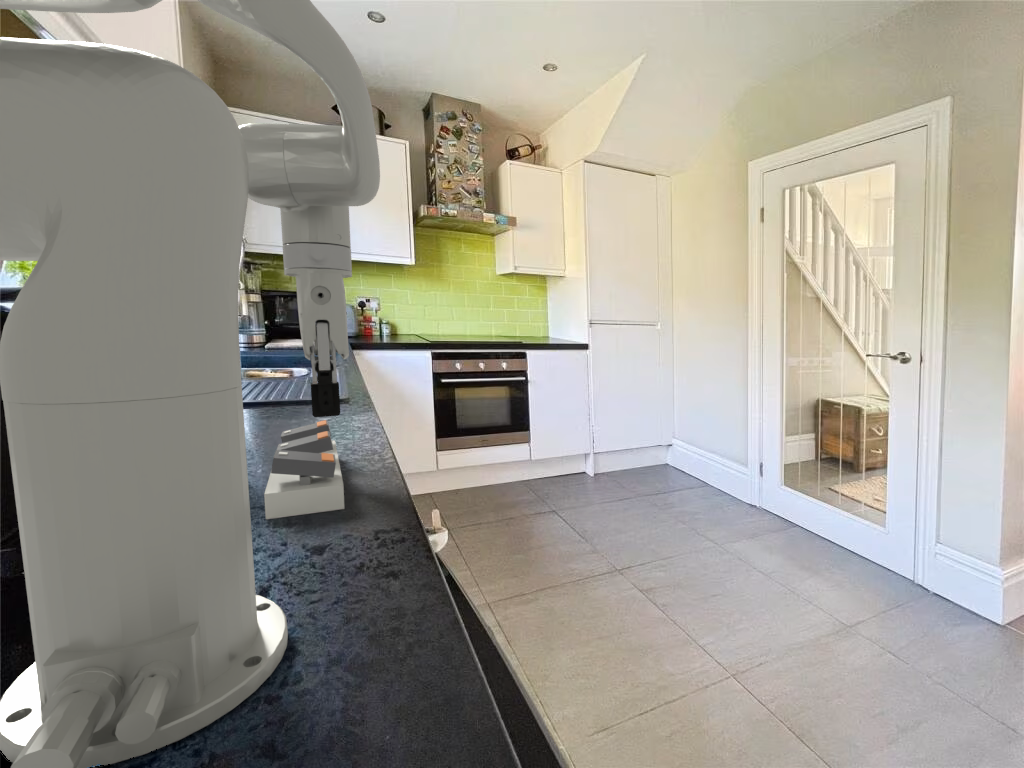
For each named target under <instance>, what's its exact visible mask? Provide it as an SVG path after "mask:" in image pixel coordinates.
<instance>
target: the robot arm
mask: <svg viewBox="0 0 1024 768" xmlns="http://www.w3.org/2000/svg"><path fill="white" fill-rule="evenodd" d="M162 1H163V0H0V9H1V10H16V11H32V12H34V11H35V12H37V11H38V12H49V13H50V12H52V13H53V12H55V13H75V14H76V13H77V14H116V13H117V14H118V13H134V12H139V11H144V10H146V9H147V10H148V9H150V8H151V9H152V7H154V6H156V5H157V4H159V3H161V2H162ZM197 1H198V2H199V3H200V4H202V5H204V6H206V7H207V8H209V9H210V10H212V11H214V12H216V13H218V14H220V15H222V16H224V17H226V18H228V19H230V20H232V21H235V22H236V23H238V24H241V25H243V26H245V27H247V28H249V29H251V30H252V31H255V32H257V33H259V34H260V35H263V36H264V37H266V38H268V39H270V40H271V41H272V42H274V43H276V44H278V45H280V46H281V47H283V48H284V49H286V50H288V51H289V52H290V53H292V54H293V55H295V56H296V57H297V58H298V59H300V60H301V61H302V62H303V63H305V64H306V65H307V66H308V67H309V68H310V69H311V70H312V71H313V73H315V74H316V75H317V76H318V77H319V78H320V79H321V81H322V82H323V83H324V85H326V87H327V89H328V91H329V92H330V93H331V95H332V97H333V99H334V101H335V104H336V105H337V109H338V111H339V115H340V119H341V123H342V125H332V124H331V125H330V124H329V125H328V124H326V125H325V124H310V123H309V124H308V123H306V124H303V123H302V124H301V123H288V124H287V123H265V122H260V123H259V122H255V123H253V122H251V123H245V124H241V125H238V123H237V120H236V119H235V117H234V115H233V114H232V112H231V110H230V108H229V107H228V105H227V104H226V103H225V102H224V100H223V99H222V98H221V97H220V96H219V95H218V93H217V92H216V91H215V90H214V89H213V88H212V87H210V85H208V84H207V83H206V82H205V81H204V80H202V79H201V78H200V77H199V76H197V75H195V74H194V73H193V72H191V71H190V70H188V69H186V68H185V67H183V66H180V65H178V64H177V63H175V62H173V61H170V60H168V59H166V58H163V57H160V56H157V55H154V54H152V53H148V52H146V51H141V50H137V49H133V48H127V47H123V46H119V45H113V44H106V43H104V44H103V43H96V42H89V41H87V42H86V41H71V40H69V41H68V40H55V39H54V40H53V39H37V38H36V39H35V38H20V37H19V38H18V37H6V36H1V37H0V262H2V261H11V262H12V261H13V262H15V261H16V262H17V261H18V262H28V261H29V262H36V264H35V266H34V267H33V269H32V271H31V272H30V274H29V276H28V277H27V279H26V281H25V282H24V284H23V286H22V287H21V289H20V290H19V292H18V295H17V297H16V299H15V300H14V302H13V304H12V305H11V308H10V310H9V313H8V315H7V317H6V320H5V322H4V325H3V329H2V333H1V336H0V337H1V338H0V391H1V401H3V402H2V403H3V410H4V417H5V425H6V426H5V428H6V435H7V436H6V437H7V443H8V451H9V457H10V467H11V474H12V475H11V476H12V484H13V490H14V491H13V492H14V500H15V507H16V515H17V522H18V523H17V524H18V530H19V532H18V534H19V539H20V547H21V549H20V550H21V556H22V563H23V564H22V565H23V570H24V571H23V572H24V578H25V579H24V581H25V589H26V596H27V604H28V613H29V622H30V630H31V636H32V637H31V638H32V645H33V652H34V660H35V661H34V662H33V664H31V665H30V666H29V667H28V668H26V669H25V670H24V671H23V672H22V673H21V674H20V675H19V676H17V678H16V679H15V680H14V681H13V682H12V683H11V684H10V686H9V687H8V688H7V689H6V691H5V692H4V693H3V694H2V696H1V698H0V750H1V751H2V753H3V754H4V755H5V756H6V758H7V759H8V760H10V761H9V762H11V766H10V768H87V767H91V766H92V765H93V766H96V765H97V764H101V765H104V766H109V765H108V764H110V765H114V764H117V763H120V762H124V761H127V760H130V758H131V759H133V757H134V758H137V757H140V756H143V755H147V754H149V753H151V751H152V752H154V751H156V749H157V750H160V749H161V748H163V747H166V745H167V746H169V745H171V744H173V743H177V742H179V741H181V740H183V739H184V738H186V737H188V736H190V735H192V734H194V733H196V732H198V731H200V730H201V729H204V728H205V727H207V726H210V725H211V724H213V723H214V722H216V721H217V720H219V719H220V718H221V717H223V716H224V715H226V714H228V713H229V712H231V711H233V710H234V709H235V708H237V706H239V705H241V703H242V702H244V701H245V700H246V699H248V698H249V697H250V696H251V695H253V694H254V693H255V692H256V691H257V690H258V689H259V688H260V687H261V685H263V684H264V682H266V681H267V679H268V678H269V677H271V675H272V674H273V673H274V671H275V670H276V668H277V667H278V665H280V662H281V661H282V659H283V657H284V655H285V652H286V649H287V646H288V636H289V632H288V622H287V615H286V614H285V612H284V611H283V609H282V607H280V606H279V605H278V604H277V603H276V602H274V601H273V600H270V599H268V598H266V597H265V596H262V595H257V593H256V577H255V566H254V552H253V551H254V549H253V537H252V535H253V534H252V521H251V519H252V518H251V506H250V489H249V476H248V474H249V473H248V463H247V462H248V461H247V460H248V459H247V446H246V443H247V442H246V431H245V429H246V428H245V415H244V399H243V387H242V386H243V385H242V369H241V368H242V367H241V365H242V364H241V350H240V330H239V329H240V328H239V326H240V325H239V282H240V279H239V278H240V264H241V256H242V247H243V237H244V232H245V231H244V230H245V223H246V217H247V209H248V200H251V201H253V202H255V203H257V204H261V205H262V206H264V205H265V206H270V207H275V208H280V209H279V210H280V225H281V239H282V242H281V243H282V257H283V258H282V259H283V260H282V261H283V271H284V272H283V273H284V274H283V275H284V276H288V277H293V278H294V277H295V283H296V300H297V312H298V323H299V330H300V338H301V343H302V348H303V354H304V357H305V359H307V360H308V361H310V363H311V374H312V375H311V376H312V382H310V393H311V412H312V413H311V414H312V417H314V418H324V417H325V418H326V417H336V416H340V415H341V401H340V382H339V381H338V377H337V376H338V375H337V355H336V354H338V355H340V356H341V358H342V359H343V360H347V359H348V358H349V357H350V349H349V336H348V335H349V333H348V317H347V315H348V314H347V302H346V301H347V299H346V292H345V291H346V290H345V289H346V288H345V284H344V283H345V282H344V279H346V278H352V277H353V272H352V271H353V267H352V249H351V248H352V247H351V228H350V227H351V225H350V221H351V220H350V207H359V206H360V207H361V206H364V205H367V204H369V203H371V202H372V201H373V200H374V199H375V197H376V196H377V193H378V191H379V188H380V182H381V171H380V170H381V169H380V167H381V165H380V156H379V155H380V154H379V149H378V141H377V133H376V125H375V119H374V118H375V117H374V112H373V111H374V110H373V107H372V106H373V105H372V101H371V96H370V93H369V90H368V85H367V83H366V80H365V77H364V75H363V73H362V71H361V69H360V67H359V65H358V62H357V60H356V59H355V57H354V56H353V54H352V52H351V50H350V49H349V47H348V46H347V44H346V43H345V41H344V40H343V38H342V37H341V35H339V33H338V31H336V29H335V28H334V26H333V25H332V24H331V23H330V22H329V21H328V19H327V18H326V17H325V16H324V15H323V14H322V12H320V10H319V9H318V8H317V7H316V6H315V5H314V3H313V2H312V0H197ZM2 753H1V754H2ZM3 754H2V755H3ZM6 758H5V759H6ZM7 759H6V760H7ZM8 760H7V761H8Z"/></svg>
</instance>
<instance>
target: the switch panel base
mask: <svg viewBox="0 0 1024 768" xmlns="http://www.w3.org/2000/svg"><path fill="white" fill-rule="evenodd" d="M332 444H333V450H329V451H326V452H322V453H329V454H333V455H335V460H336V465H335V471H334V478H333V477H318V476H303V475H287V474H272V473H271V472H270V474H269V477H268V481H267V484H266V487H265V490H264V511H265V520H272V519H280V518H287V517H293V516H301V515H309V514H317V513H324V512H333V511H338V510H345V495H344V493H345V490H344V489H345V488H344V481H343V480H344V479H343V475H342V471H341V469H342V468H341V465H340V459H339V454H338V449H337V445H336V444H337V443H336V440H332Z"/></svg>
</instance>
